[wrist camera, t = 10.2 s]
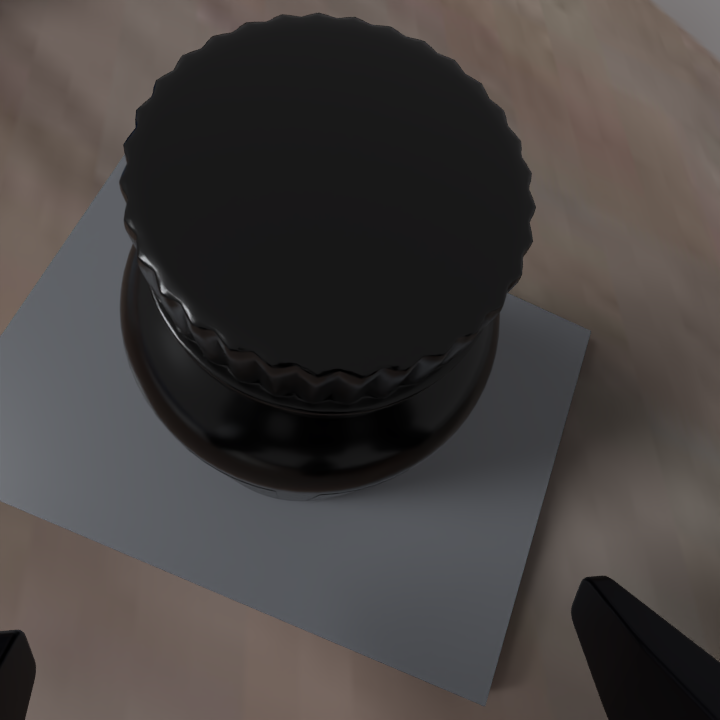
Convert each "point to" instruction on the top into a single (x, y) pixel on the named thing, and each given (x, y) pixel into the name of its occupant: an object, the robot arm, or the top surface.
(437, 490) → the board
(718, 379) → the top surface
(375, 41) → the supplement bottle
